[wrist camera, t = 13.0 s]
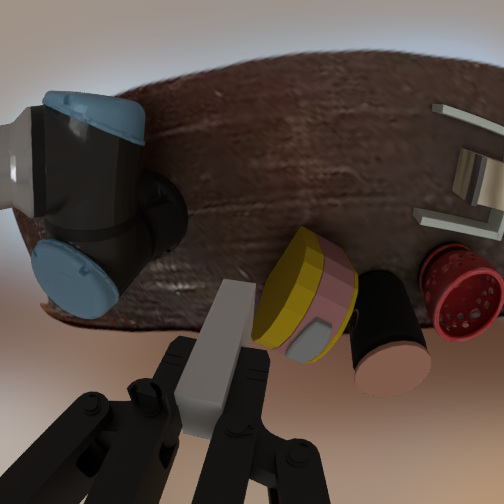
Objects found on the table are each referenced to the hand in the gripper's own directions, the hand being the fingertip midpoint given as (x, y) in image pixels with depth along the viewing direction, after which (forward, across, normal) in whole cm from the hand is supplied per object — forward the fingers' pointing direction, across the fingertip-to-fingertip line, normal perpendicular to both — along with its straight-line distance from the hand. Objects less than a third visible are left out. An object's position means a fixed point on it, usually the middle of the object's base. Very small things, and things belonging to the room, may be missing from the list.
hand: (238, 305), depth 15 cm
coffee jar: (+33, +18, -20) cm, 42 cm away
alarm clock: (+33, +5, -16) cm, 37 cm away
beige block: (+33, +31, +4) cm, 45 cm away
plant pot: (+33, +30, -13) cm, 46 cm away
